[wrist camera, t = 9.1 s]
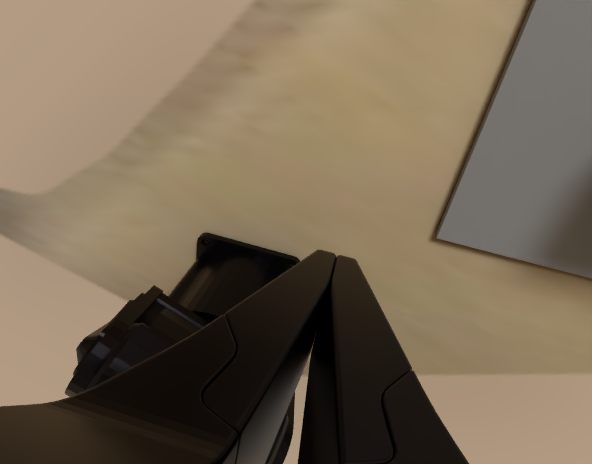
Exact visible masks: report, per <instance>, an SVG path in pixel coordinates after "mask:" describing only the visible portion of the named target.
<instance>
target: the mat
mask: <svg viewBox="0 0 592 464" xmlns="http://www.w3.org/2000/svg"><path fill="white" fill-rule="evenodd" d="M436 238H438V239H441V240H445V241H449V242H453V243H457V244H461V245H464V246H468V247H472V248H476V249H480V250H484V251H488V252H491V253H495V254H499V255H503V256H507V257H511V258H515V259H518V260H522V261H526V262H530V263H534V264H538V265H541V266H545V267H549V268H553V269H557V270H561V271H565V272H568V273H572V274H576V275H580V276H584V277H588V278H591V279H592V0H533V1H532V4H531V6H530V8H529V11H528V13H527V16H526V18H525V20H524V23H523V25H522V28H521V30H520V32H519V35H518V37H517V40H516V42H515V44H514V47H513V49H512V52H511V54H510V56H509V59H508V61H507V64H506V66H505V68H504V71H503V73H502V76H501V78H500V80H499V83H498V85H497V88H496V90H495V93H494V95H493V97H492V100H491V102H490V105H489V107H488V109H487V112H486V114H485V117H484V119H483V121H482V124H481V126H480V129H479V131H478V133H477V136H476V138H475V141H474V143H473V145H472V148H471V150H470V153H469V155H468V157H467V160H466V162H465V165H464V167H463V170H462V172H461V174H460V177H459V179H458V182H457V184H456V186H455V189H454V191H453V194H452V196H451V198H450V201H449V203H448V206H447V208H446V210H445V213H444V215H443V218H442V220H441V222H440V225H439V227H438V230H437V232H436Z"/></svg>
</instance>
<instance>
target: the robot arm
mask: <svg viewBox="0 0 592 464" xmlns="http://www.w3.org/2000/svg"><path fill="white" fill-rule="evenodd" d="M204 239H206V240H207V241H208V242H209V243H206V242H205V241H204ZM289 263H293V264H294V265H295V266H290V265H289ZM162 292H163V291H162V290H161V289H159V288H158V287H156V286H155V285H154V286H153V287H152V288H151V289H150V290H149V291H148V292H147V293H146V294H144V293H141V294H140V295H139V296H138V297H137V298H136V299H135V300H130V301H129V302H128V303H127V304H126V305H125V306H124V307H123V309H122V310H121V311H120V312H119V313H118V314H117V315H116V316H115V317H114V318H113V319H112V320H111V321H110V322H109V323H107V324H106V325H104V326H103V327H101V328H100V329H98V330H96V331H95V332H93V333H92V334H90V335H88V336H87V337H85V338H84V339H83V341H82V342H81V343H80V344H79V346H78V347H77V349H76V350H77V359H78V366H77V367H76V369H75V371H74V373H73V378H72V380H71V381H70V383H69V385H68V387H67V388H66V391H65V394H66V395H68V396H69V398H66V399H62V400H59V401H54V402H49V403H43V404H32V405H16V406H1V407H0V464H283V462H284V460H285V457H286V455H287V452H288V449H289V446H290V443H291V439H292V435H293V424H294V399H295V389H296V387H297V384H298V382H299V380H300V377H301V375H302V372H303V370H304V368H305V365H306V363H307V360H308V358H309V355H310V352H311V349H312V353H311V359H310V366H309V375H308V383H307V391H306V400H305V408H304V417H303V425H302V433H301V442H300V449H299V458H298V464H469V463H468V461H467V460H466V458H465V457H464V455H463V454H462V452H461V451H460V449H459V448H458V446H457V445H456V443H455V442H454V440H453V438H452V437H451V435H450V434H449V432H448V430H447V429H446V427H445V426H444V424H443V423H442V421H441V419H440V418H439V416H438V414H437V413H436V412H435V410H434V408H433V406H432V404H431V402H430V400H429V399H428V397H427V395H426V393H425V392H424V390H423V388H422V386H421V384H420V382H419V380H418V378H417V376H416V374H415V372H414V371H412V367H411V365H410V363H409V361H408V359H407V357H406V355H405V353H404V352H403V350H402V348H401V346H400V344H399V342H398V340H397V338H396V336H395V334H394V332H393V330H392V328H391V326H390V324H389V322H388V321H387V319H386V317H385V315H384V313H383V311H382V309H381V307H380V305H379V303H378V301H377V299H376V297H375V295H374V293H373V292H372V290H371V288H370V286H369V284H368V282H367V280H366V278H365V276H364V274H363V272H362V270H361V268H360V266H359V264H358V263H357V261H356V260H355V259H353V258H349V257H346V256H342V255H338V256H337V257H336V255H335V254H334V253H331V252H327V251H324V250H317V251H315V252H314V253H312V254H311V255H309V256H308V257H306V258H305V259H303V260H302V261H300V260H299V259H298V258H297V257H294V256H291V255H287V254H284V253H280V252H276V251H273V250H269V249H265V248H262V247H258V246H254V245H251V244H247V243H243V242H240V241H236V240H233V239H229V238H225V237H222V236H218V235H214V234H211V233H202V234H201V235H200V237H199V238H198V240H197V257H196V262H195V263H194V264H193V266H192V267H191V268H190V269H189V271H188V272H187V273H186V274H185V276H184V277H183V278H182V280H181V281H180V282H179V283H178V285H177V286H176V287H175V288H174V290H173V291H172V292H171V294H170V295H169V296H167V295H165V294H163V293H162ZM316 331H317V332H316ZM315 335H316V336H315ZM313 342H314V343H313ZM312 346H313V348H312Z"/></svg>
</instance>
